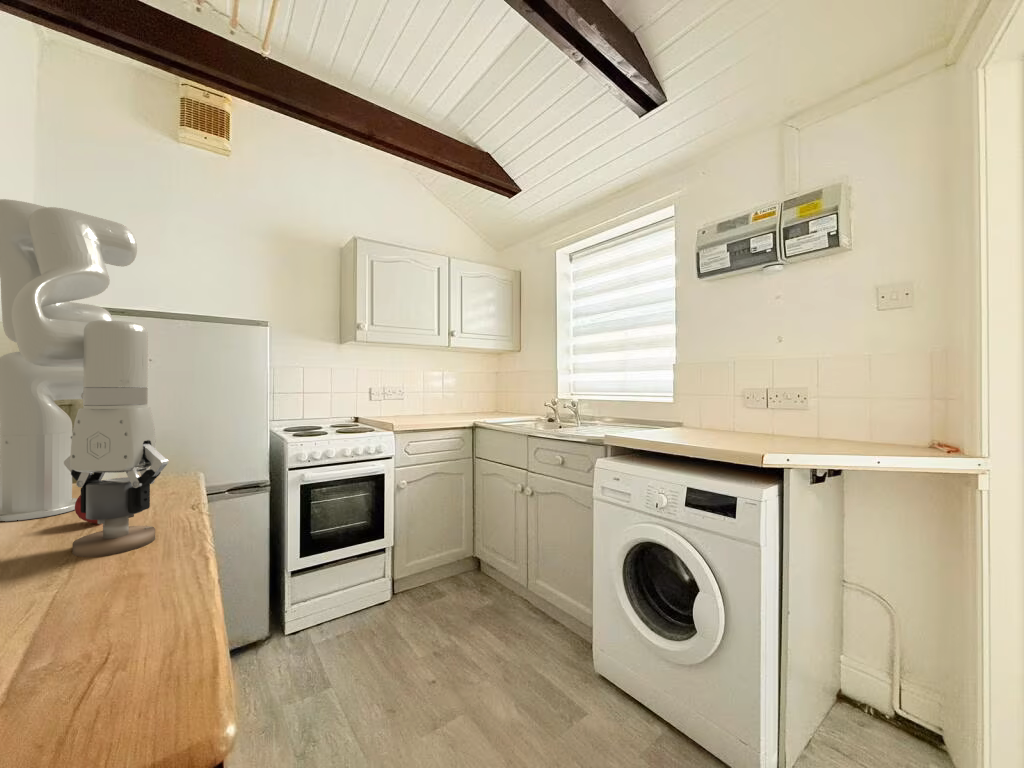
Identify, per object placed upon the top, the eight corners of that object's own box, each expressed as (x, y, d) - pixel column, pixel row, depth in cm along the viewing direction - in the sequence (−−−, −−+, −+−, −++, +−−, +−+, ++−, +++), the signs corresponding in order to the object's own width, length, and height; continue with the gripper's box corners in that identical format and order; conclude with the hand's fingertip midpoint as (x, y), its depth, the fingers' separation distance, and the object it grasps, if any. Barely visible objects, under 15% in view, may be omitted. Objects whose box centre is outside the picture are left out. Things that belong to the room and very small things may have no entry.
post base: (63, 549, 66) (63, 516, 66) (141, 530, 74) (141, 502, 74) (84, 562, 61) (84, 527, 61) (165, 541, 69) (165, 510, 69)
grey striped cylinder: (74, 517, 65) (74, 484, 65) (133, 503, 73) (133, 473, 73) (104, 521, 63) (105, 487, 63) (162, 507, 71) (162, 476, 71)
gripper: (37, 399, 64) (36, 517, 64) (148, 399, 64) (148, 518, 63) (88, 398, 72) (87, 503, 72) (188, 398, 71) (187, 504, 71)
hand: (115, 509), depth 67 cm, fingers closed on grey striped cylinder, 6 cm apart
